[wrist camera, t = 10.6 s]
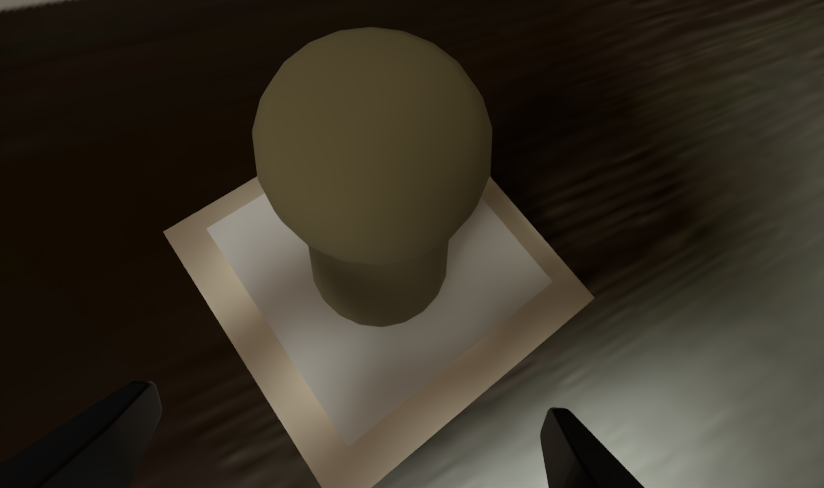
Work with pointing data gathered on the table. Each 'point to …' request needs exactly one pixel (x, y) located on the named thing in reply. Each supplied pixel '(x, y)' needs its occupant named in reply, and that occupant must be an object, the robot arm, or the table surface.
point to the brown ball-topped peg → (373, 165)
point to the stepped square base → (374, 329)
